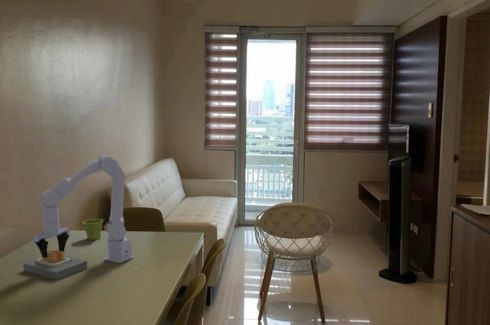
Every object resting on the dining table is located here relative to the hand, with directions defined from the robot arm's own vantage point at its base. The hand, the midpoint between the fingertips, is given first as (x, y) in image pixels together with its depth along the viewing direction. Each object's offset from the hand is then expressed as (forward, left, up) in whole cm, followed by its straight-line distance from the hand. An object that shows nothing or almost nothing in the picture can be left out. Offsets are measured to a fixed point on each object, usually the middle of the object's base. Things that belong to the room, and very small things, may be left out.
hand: (53, 254), depth 173 cm
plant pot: (+20, -37, -6) cm, 42 cm away
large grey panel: (-1, 0, -6) cm, 6 cm away
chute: (0, 0, -3) cm, 3 cm away
